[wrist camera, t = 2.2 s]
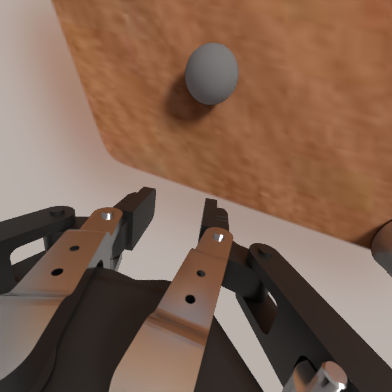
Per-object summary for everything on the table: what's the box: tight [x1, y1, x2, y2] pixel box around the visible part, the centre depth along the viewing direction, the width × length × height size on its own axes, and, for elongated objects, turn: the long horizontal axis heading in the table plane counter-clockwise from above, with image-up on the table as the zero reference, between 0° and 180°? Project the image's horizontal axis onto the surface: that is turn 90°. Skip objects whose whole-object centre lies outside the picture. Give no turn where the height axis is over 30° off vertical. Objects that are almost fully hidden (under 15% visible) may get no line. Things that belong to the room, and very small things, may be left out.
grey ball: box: [185, 43, 238, 105], centre depth 21 cm, size 6×6×6 cm
